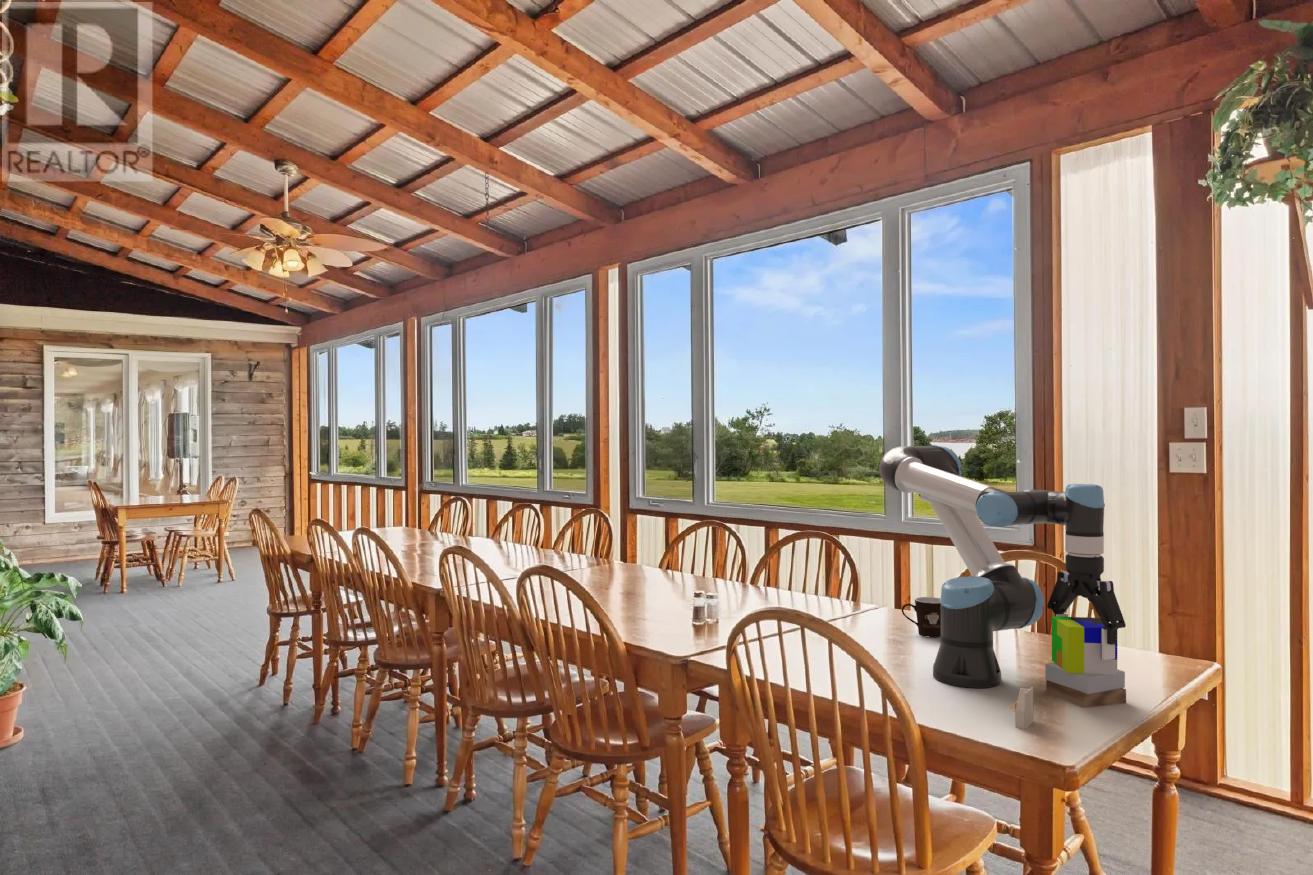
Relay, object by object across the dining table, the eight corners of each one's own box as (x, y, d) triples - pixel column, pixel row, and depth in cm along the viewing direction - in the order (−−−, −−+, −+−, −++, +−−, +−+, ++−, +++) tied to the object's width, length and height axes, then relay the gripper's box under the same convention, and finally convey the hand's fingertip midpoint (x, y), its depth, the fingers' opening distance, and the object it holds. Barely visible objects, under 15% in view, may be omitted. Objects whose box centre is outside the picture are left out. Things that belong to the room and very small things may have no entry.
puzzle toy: (1117, 675, 174) (1117, 628, 174) (1067, 673, 175) (1067, 626, 175) (1098, 661, 184) (1098, 617, 184) (1051, 660, 185) (1051, 616, 185)
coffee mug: (949, 633, 235) (949, 599, 235) (942, 640, 228) (942, 604, 228) (908, 628, 242) (908, 594, 241) (900, 634, 234) (900, 599, 234)
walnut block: (1083, 710, 172) (1083, 693, 172) (1046, 694, 183) (1046, 678, 183) (1126, 705, 175) (1126, 689, 175) (1087, 689, 186) (1087, 674, 186)
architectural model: (1007, 727, 162) (1007, 690, 162) (1017, 718, 168) (1017, 682, 167) (1025, 731, 160) (1025, 694, 160) (1034, 721, 165) (1034, 685, 165)
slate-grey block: (1088, 694, 172) (1088, 677, 172) (1045, 679, 182) (1045, 663, 182) (1124, 687, 176) (1124, 671, 176) (1080, 673, 186) (1080, 658, 186)
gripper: (1145, 562, 168) (1144, 665, 168) (1058, 545, 192) (1058, 635, 192) (1114, 564, 166) (1114, 667, 166) (1030, 547, 190) (1030, 637, 190)
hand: (1084, 650), depth 179 cm, fingers open, 13 cm apart
